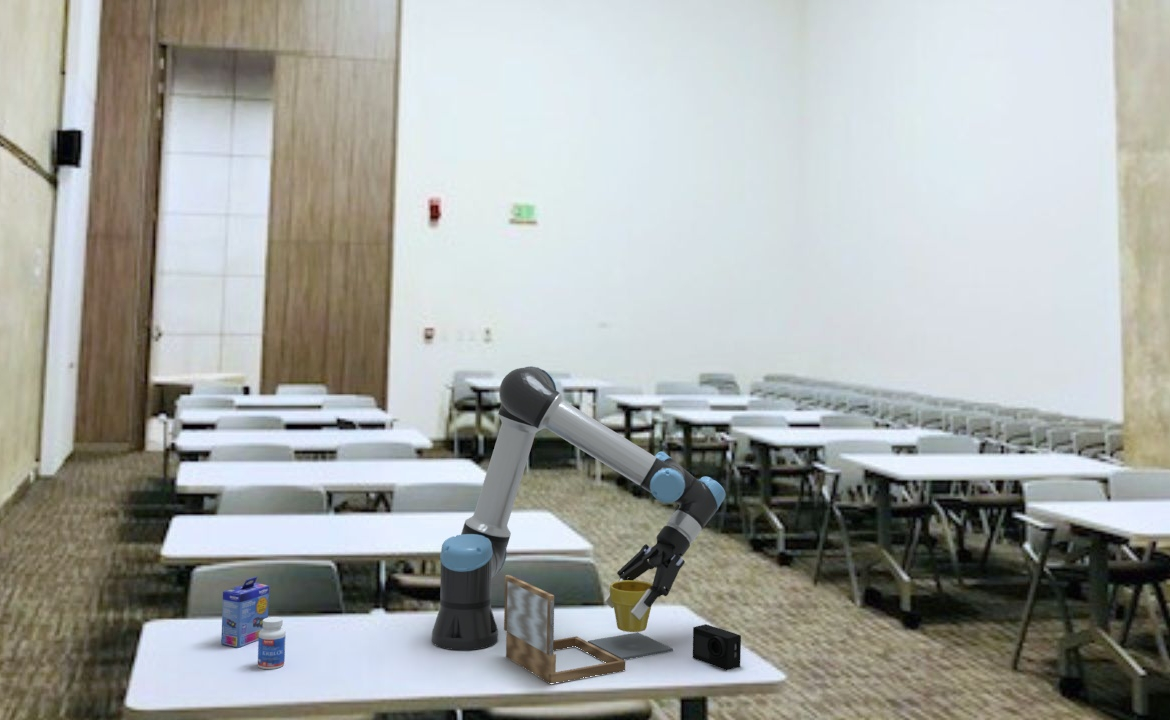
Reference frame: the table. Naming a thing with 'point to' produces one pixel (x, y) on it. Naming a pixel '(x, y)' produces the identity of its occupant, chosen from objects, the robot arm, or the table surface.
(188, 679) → the table surface
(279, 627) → the pill bottle
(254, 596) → the ink cartridge box
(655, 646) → the mat
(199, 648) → the table surface
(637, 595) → the plant pot
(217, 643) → the table surface
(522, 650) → the cold frame
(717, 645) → the digital camera
